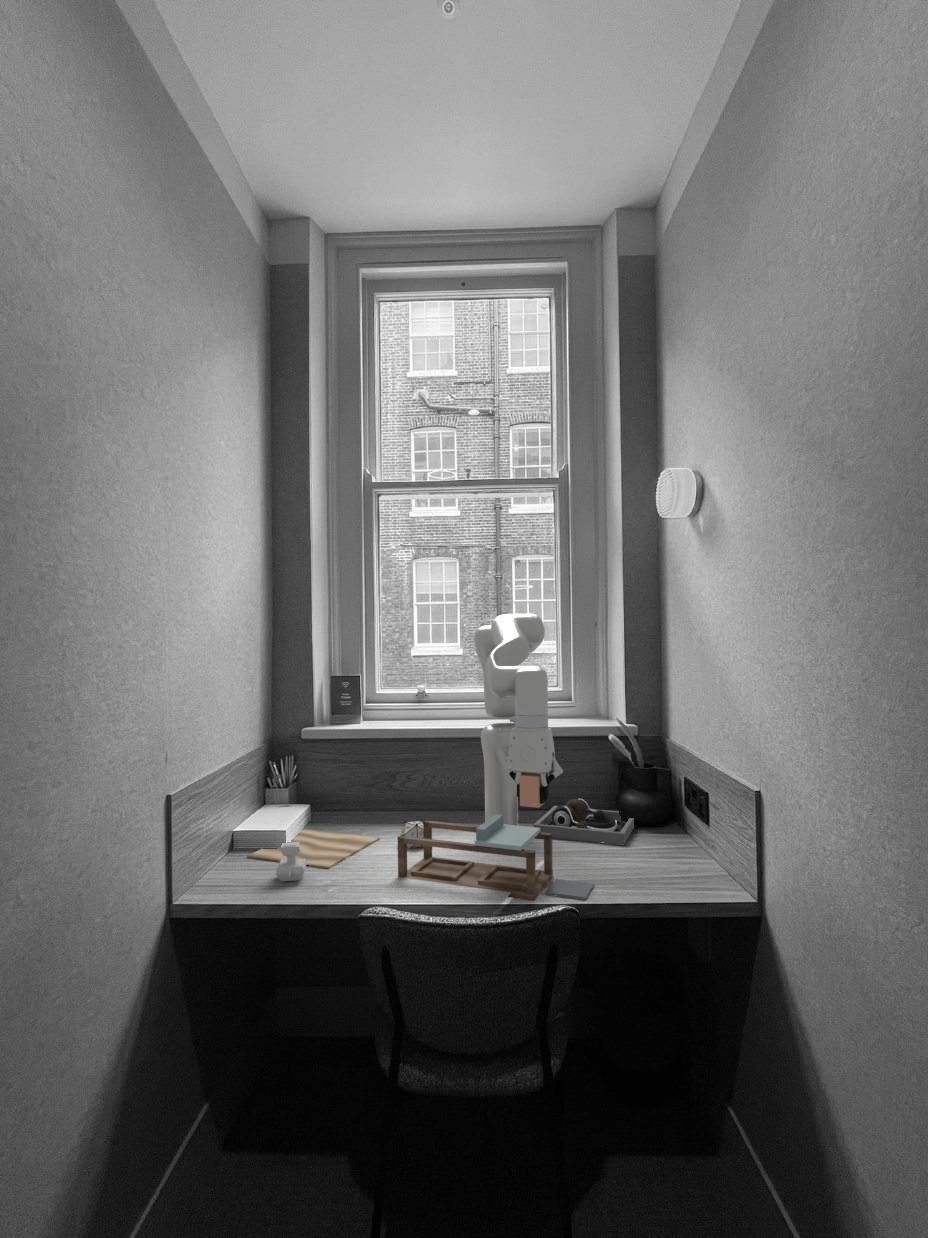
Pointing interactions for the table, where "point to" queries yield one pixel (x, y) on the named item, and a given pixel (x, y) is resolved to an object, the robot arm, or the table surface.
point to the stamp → (291, 863)
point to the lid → (504, 834)
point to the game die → (413, 831)
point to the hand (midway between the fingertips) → (532, 800)
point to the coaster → (570, 889)
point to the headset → (582, 816)
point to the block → (530, 790)
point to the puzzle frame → (476, 864)
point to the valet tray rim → (586, 834)
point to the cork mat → (320, 848)
